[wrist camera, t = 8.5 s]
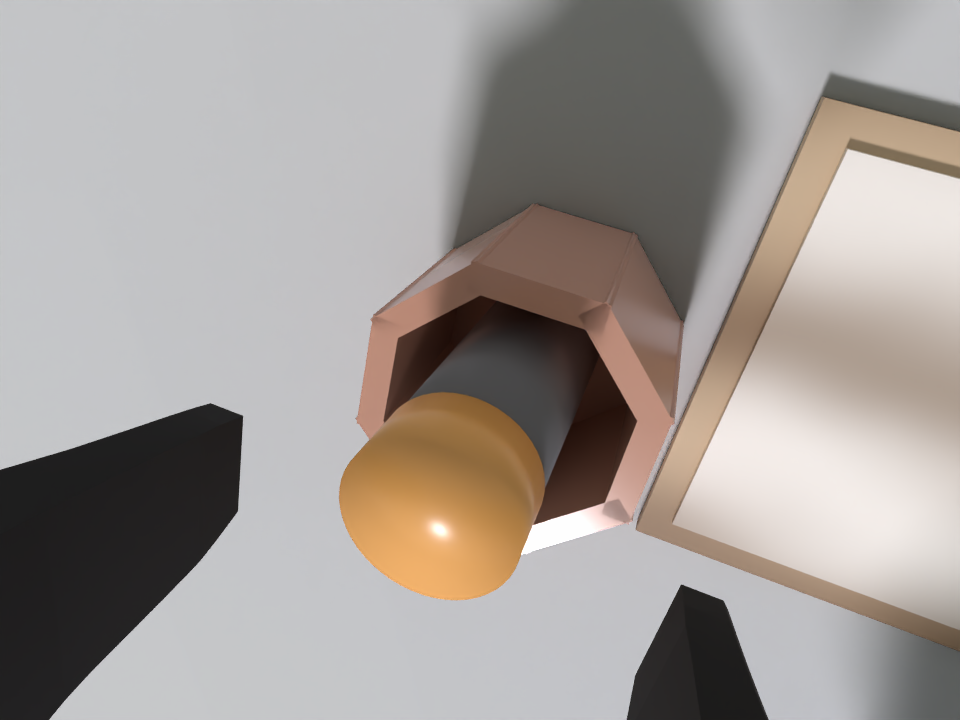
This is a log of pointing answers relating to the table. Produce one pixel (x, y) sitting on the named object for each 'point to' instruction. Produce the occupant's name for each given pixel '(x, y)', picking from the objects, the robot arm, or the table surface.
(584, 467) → the pen cup
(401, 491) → the marker
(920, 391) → the wooden picture frame
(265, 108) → the table surface
